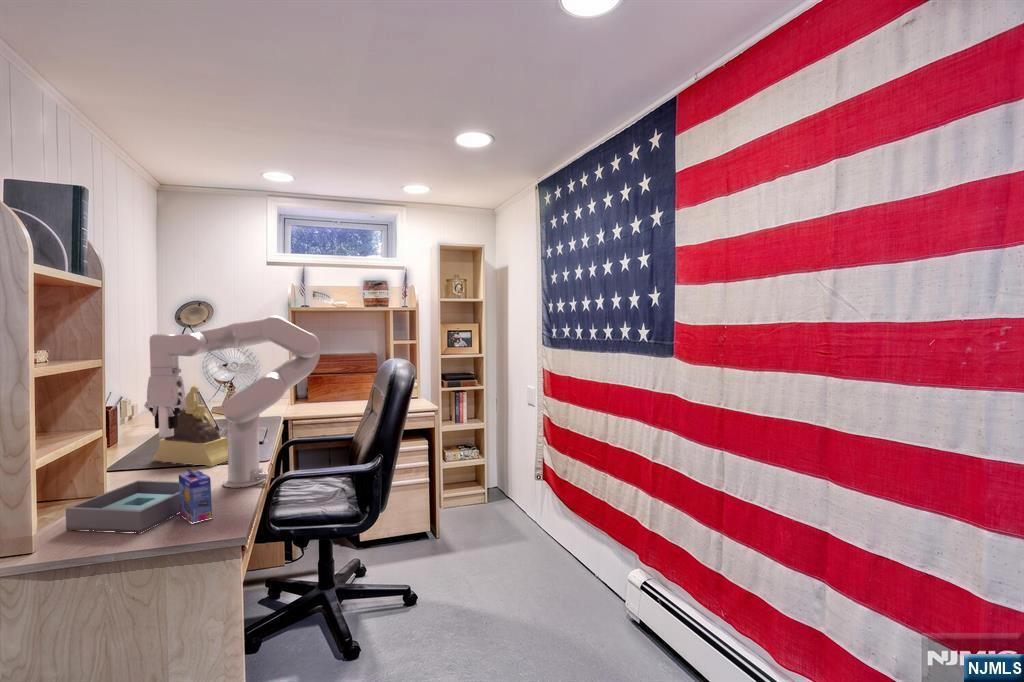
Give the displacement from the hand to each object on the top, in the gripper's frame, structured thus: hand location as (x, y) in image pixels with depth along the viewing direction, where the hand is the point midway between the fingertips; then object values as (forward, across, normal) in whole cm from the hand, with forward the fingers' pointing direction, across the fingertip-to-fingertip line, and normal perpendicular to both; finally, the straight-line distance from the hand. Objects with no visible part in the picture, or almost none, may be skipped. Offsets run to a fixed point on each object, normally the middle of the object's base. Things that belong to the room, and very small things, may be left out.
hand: (166, 427), depth 161 cm
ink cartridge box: (+21, -25, +20) cm, 38 cm away
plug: (+3, 0, 0) cm, 3 cm away
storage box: (+21, -8, +20) cm, 30 cm away
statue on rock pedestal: (+21, +15, -34) cm, 43 cm away
